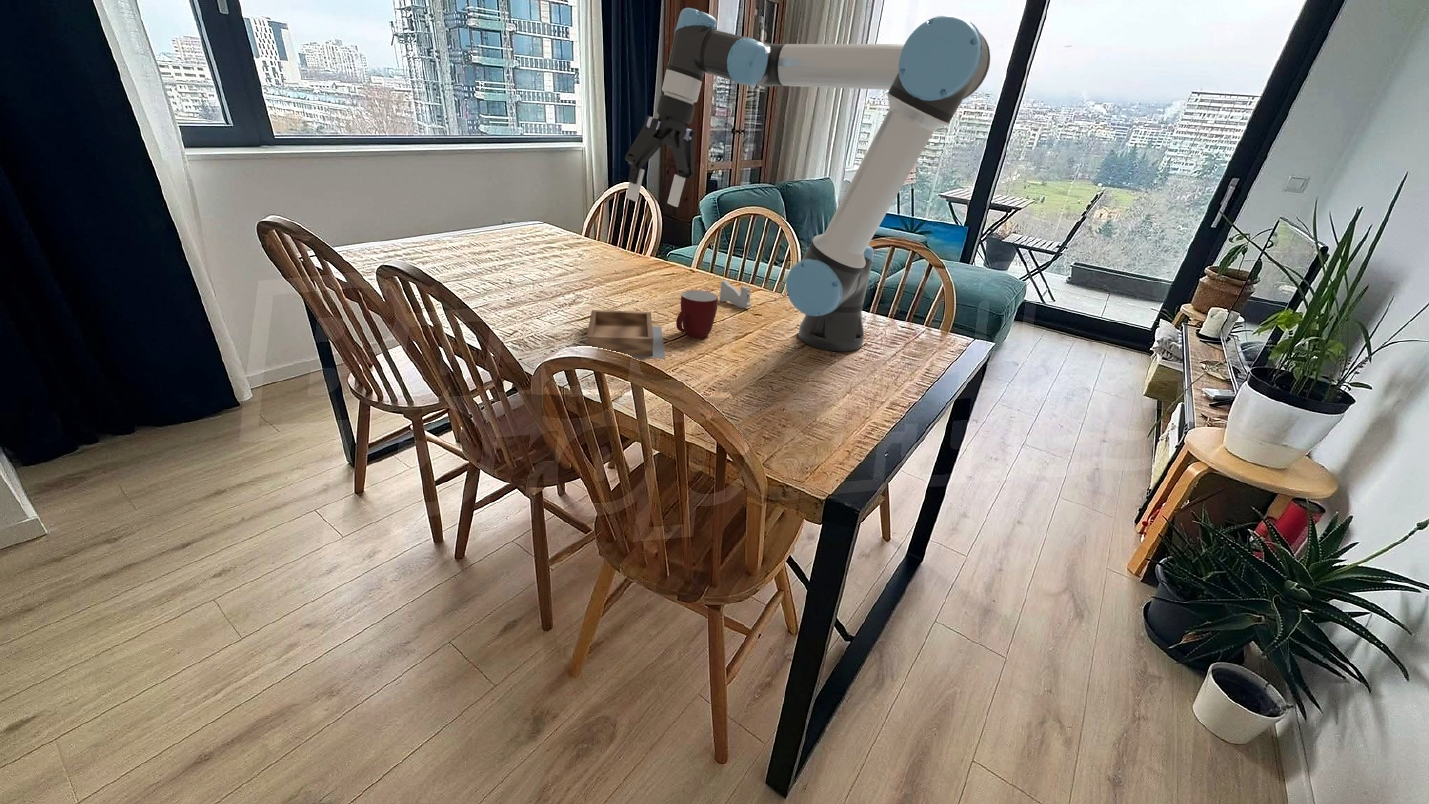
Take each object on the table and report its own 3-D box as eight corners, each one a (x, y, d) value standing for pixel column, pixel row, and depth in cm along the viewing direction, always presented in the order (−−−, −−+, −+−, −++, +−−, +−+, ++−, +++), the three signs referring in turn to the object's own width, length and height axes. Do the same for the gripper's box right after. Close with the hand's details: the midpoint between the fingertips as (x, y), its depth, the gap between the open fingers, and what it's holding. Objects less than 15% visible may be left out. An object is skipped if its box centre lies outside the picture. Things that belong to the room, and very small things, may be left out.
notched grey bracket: (722, 300, 156) (751, 309, 151) (719, 301, 155) (748, 310, 150) (724, 279, 154) (754, 288, 148) (721, 280, 153) (750, 289, 147)
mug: (694, 351, 122) (698, 306, 118) (664, 341, 126) (666, 297, 121) (720, 338, 130) (725, 296, 126) (692, 329, 134) (694, 287, 129)
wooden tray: (650, 327, 130) (650, 312, 128) (652, 356, 116) (653, 338, 114) (592, 325, 128) (591, 309, 126) (587, 354, 114) (586, 336, 112)
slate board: (661, 330, 131) (661, 326, 131) (665, 362, 116) (665, 358, 115) (590, 328, 129) (590, 324, 128) (584, 360, 113) (584, 356, 113)
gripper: (701, 107, 129) (676, 202, 138) (623, 78, 109) (599, 191, 118) (726, 116, 125) (699, 212, 134) (650, 87, 106) (624, 202, 114)
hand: (652, 202), depth 126 cm, fingers open, 13 cm apart
